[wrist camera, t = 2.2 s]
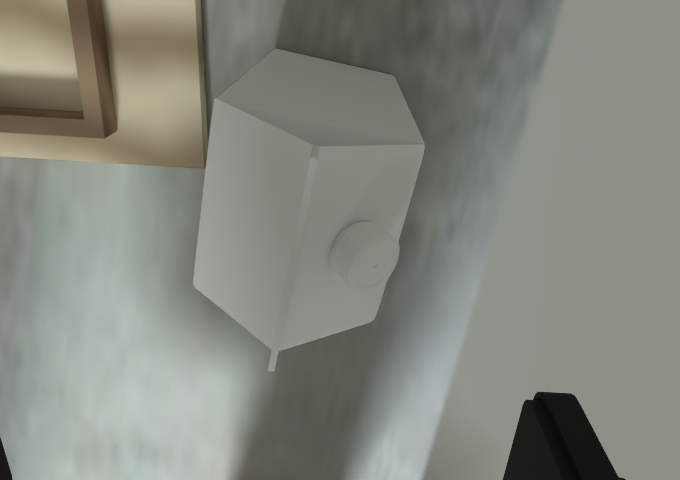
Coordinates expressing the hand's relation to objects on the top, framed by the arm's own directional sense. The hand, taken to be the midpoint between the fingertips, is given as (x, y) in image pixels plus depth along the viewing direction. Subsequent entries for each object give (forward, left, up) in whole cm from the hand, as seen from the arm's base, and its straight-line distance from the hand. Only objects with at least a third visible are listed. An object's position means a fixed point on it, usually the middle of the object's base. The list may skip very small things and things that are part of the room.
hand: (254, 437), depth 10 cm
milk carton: (0, 0, -26) cm, 26 cm away
